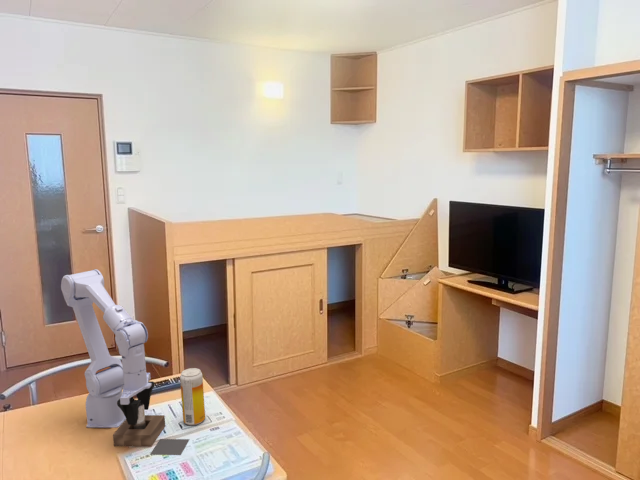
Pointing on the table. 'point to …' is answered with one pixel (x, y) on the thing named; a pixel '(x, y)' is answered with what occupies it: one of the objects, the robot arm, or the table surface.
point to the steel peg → (140, 418)
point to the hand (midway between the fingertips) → (138, 416)
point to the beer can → (192, 396)
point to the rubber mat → (169, 447)
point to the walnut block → (140, 432)
